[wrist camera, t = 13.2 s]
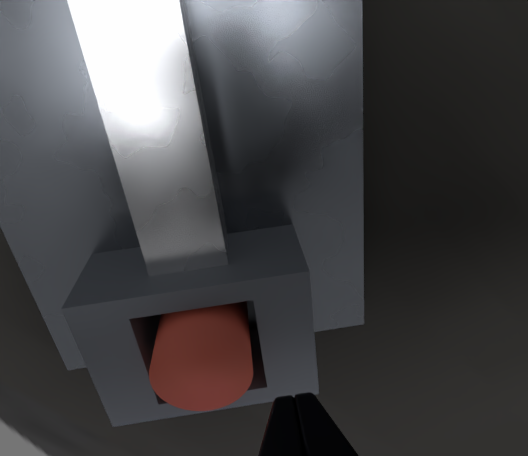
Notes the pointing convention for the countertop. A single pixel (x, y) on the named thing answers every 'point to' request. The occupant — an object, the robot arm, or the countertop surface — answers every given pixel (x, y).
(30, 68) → the rail base
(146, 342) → the windowed grey end block
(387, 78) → the countertop surface
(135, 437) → the countertop surface
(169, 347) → the button
